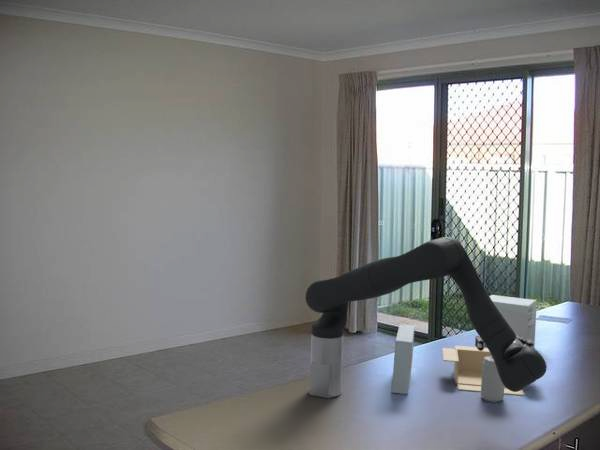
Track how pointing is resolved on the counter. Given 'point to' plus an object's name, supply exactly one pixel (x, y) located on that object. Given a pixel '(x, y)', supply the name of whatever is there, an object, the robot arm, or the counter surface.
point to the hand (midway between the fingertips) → (499, 338)
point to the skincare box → (403, 359)
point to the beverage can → (491, 381)
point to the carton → (469, 367)
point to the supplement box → (518, 314)
